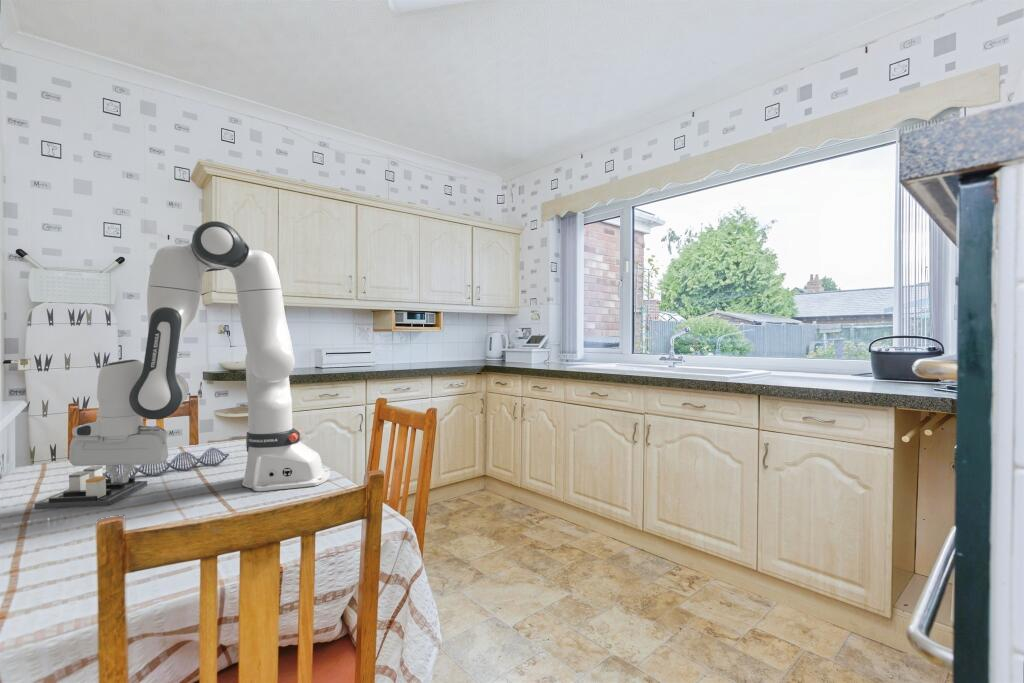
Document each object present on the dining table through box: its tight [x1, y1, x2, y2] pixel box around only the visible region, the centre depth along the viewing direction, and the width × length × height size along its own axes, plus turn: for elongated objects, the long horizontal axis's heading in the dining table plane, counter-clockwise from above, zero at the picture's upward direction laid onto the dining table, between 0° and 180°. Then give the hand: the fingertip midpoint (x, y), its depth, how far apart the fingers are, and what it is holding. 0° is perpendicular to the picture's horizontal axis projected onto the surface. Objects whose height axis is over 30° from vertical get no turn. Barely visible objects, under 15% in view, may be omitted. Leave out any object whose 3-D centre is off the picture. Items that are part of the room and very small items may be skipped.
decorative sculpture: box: [103, 446, 230, 479], centre depth 143 cm, size 6×31×6 cm, turn 134°
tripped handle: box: [86, 476, 107, 499], centre depth 119 cm, size 2×3×5 cm
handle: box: [83, 465, 104, 479], centre depth 128 cm, size 2×3×5 cm
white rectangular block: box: [68, 470, 89, 491], centre depth 123 cm, size 2×3×5 cm
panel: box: [34, 477, 148, 509], centre depth 123 cm, size 16×15×2 cm
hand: (119, 482), depth 119 cm, fingers closed
